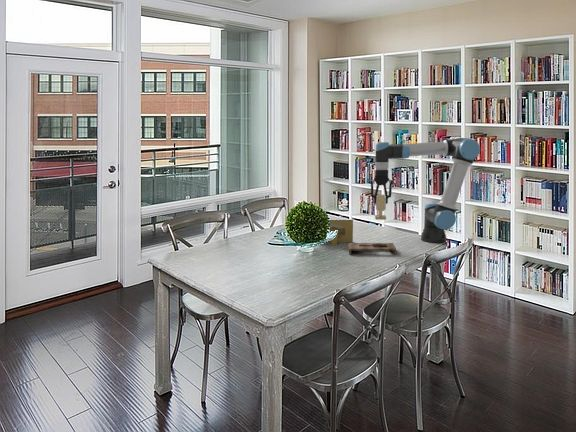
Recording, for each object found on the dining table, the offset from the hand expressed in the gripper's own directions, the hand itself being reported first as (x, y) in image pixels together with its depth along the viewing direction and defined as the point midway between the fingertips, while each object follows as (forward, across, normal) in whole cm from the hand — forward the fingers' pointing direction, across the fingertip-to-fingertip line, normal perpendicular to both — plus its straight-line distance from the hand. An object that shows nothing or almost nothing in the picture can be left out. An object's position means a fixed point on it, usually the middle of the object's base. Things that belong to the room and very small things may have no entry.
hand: (380, 209), depth 294 cm
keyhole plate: (+23, -5, -10) cm, 26 cm away
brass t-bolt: (+6, 0, 0) cm, 6 cm away
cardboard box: (+24, -27, +9) cm, 37 cm away
